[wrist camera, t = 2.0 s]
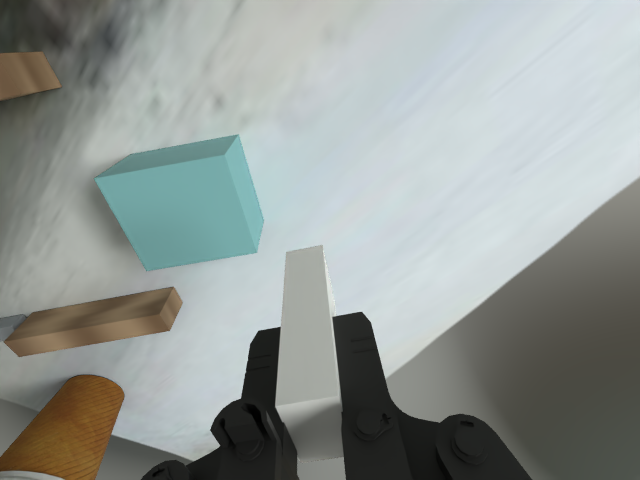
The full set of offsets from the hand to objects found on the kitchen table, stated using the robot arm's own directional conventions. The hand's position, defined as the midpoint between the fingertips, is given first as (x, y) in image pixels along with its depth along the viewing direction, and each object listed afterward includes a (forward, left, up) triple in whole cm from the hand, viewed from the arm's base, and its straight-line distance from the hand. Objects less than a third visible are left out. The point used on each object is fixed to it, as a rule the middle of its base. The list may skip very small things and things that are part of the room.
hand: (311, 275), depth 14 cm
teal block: (+8, 0, -13) cm, 15 cm away
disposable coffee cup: (+29, +21, -13) cm, 38 cm away
